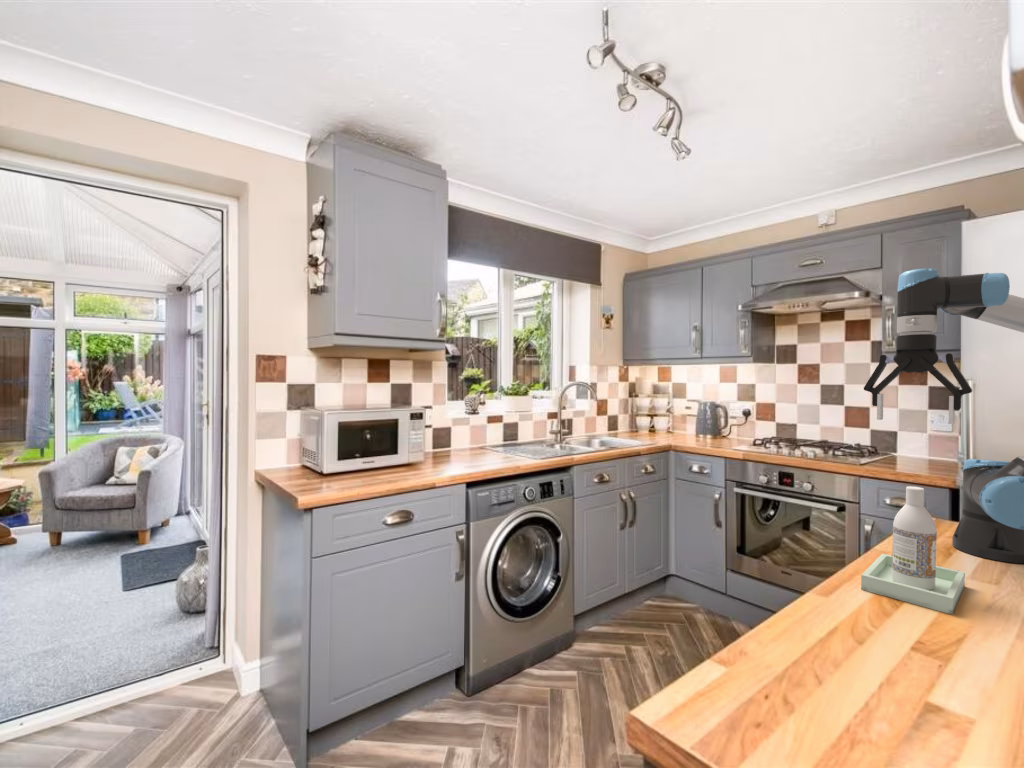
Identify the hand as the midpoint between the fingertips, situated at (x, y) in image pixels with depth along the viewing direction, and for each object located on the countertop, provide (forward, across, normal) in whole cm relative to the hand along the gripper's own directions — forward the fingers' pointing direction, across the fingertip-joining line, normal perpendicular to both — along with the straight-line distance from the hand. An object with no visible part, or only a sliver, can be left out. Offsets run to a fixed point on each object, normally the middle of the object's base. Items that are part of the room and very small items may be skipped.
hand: (914, 421), depth 119 cm
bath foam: (+32, +4, -24) cm, 40 cm away
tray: (+33, +4, -24) cm, 41 cm away
